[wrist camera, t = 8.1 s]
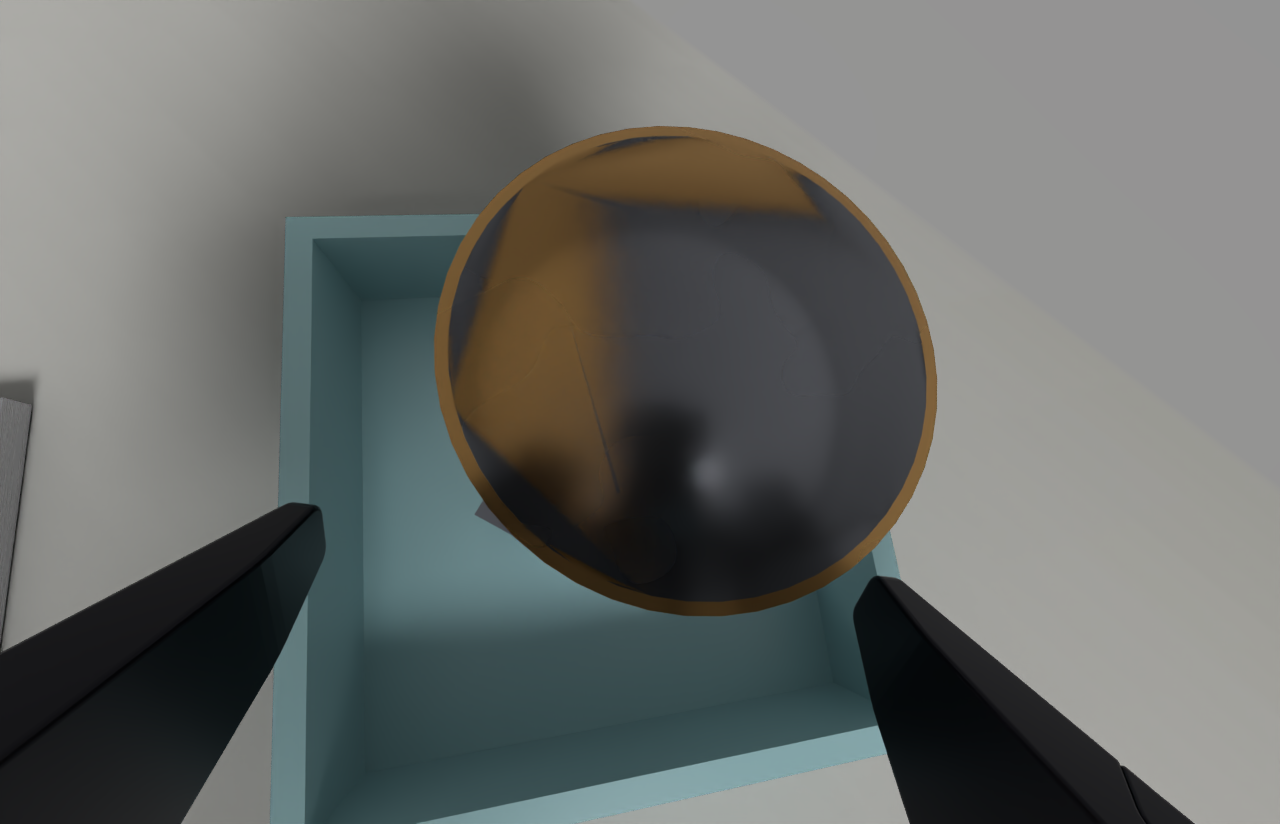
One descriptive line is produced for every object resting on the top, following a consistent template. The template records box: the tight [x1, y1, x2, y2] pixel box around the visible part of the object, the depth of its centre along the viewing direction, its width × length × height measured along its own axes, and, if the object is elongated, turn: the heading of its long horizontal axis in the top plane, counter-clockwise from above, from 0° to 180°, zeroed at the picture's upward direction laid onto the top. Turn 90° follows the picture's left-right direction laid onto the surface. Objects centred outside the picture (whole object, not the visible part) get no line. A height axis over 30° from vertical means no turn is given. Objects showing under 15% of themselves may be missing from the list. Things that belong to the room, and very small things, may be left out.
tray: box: [270, 214, 901, 824], centre depth 15 cm, size 14×14×4 cm
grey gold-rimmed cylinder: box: [434, 126, 937, 616], centre depth 10 cm, size 4×4×12 cm
